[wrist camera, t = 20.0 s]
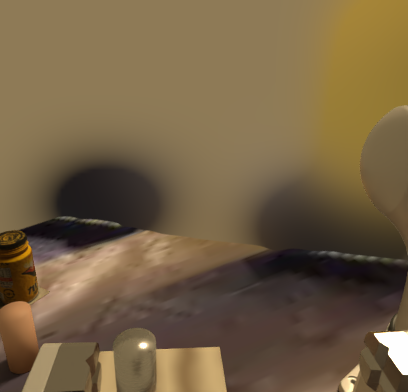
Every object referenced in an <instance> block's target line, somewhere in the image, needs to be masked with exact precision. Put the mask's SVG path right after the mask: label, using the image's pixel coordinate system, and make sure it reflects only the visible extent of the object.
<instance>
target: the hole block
mask: <svg viewBox="0 0 408 392" xmlns="http://www.w3.org/2000/svg"><path fill="white" fill-rule="evenodd" d="M98 361H99V362H100V363H101V369H102V379H101V390H100V392H117V389H116V377H115V365H114V354H113V351H105V352H100V354H99V358H98ZM156 370H157V392H227V391H226V385H225V379H224V372H223V366H222V360H221V353H220V347H208V348H182V349H156Z"/></svg>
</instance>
